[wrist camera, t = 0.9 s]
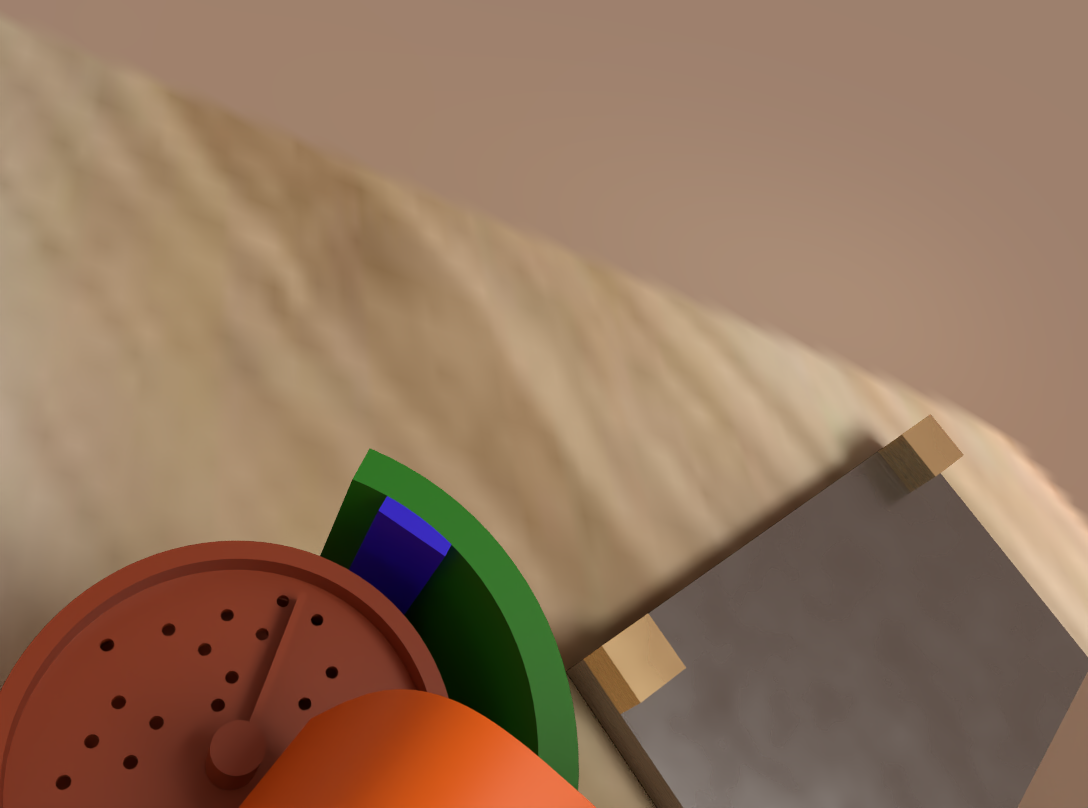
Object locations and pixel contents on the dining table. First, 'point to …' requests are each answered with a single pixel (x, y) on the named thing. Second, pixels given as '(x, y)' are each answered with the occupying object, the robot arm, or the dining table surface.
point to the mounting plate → (845, 658)
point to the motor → (302, 674)
